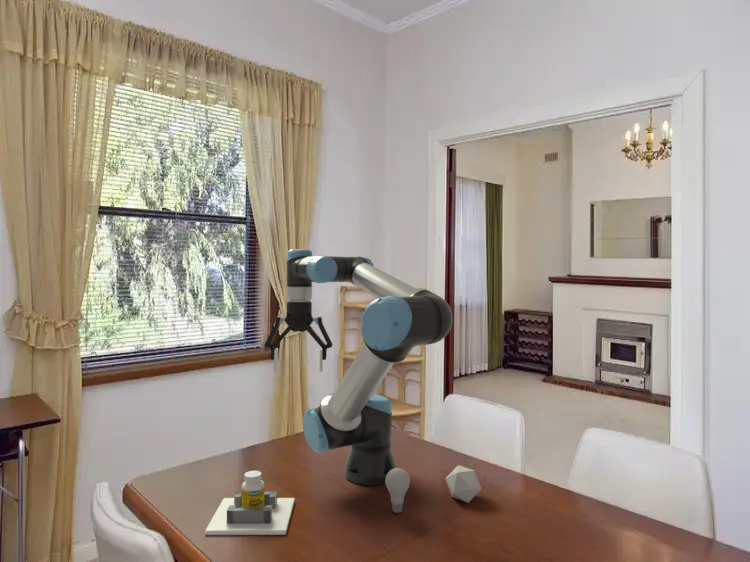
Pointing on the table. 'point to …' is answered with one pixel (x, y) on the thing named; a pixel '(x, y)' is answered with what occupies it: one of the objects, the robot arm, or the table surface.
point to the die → (463, 483)
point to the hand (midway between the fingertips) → (298, 370)
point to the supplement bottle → (253, 490)
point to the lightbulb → (397, 487)
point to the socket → (251, 517)
